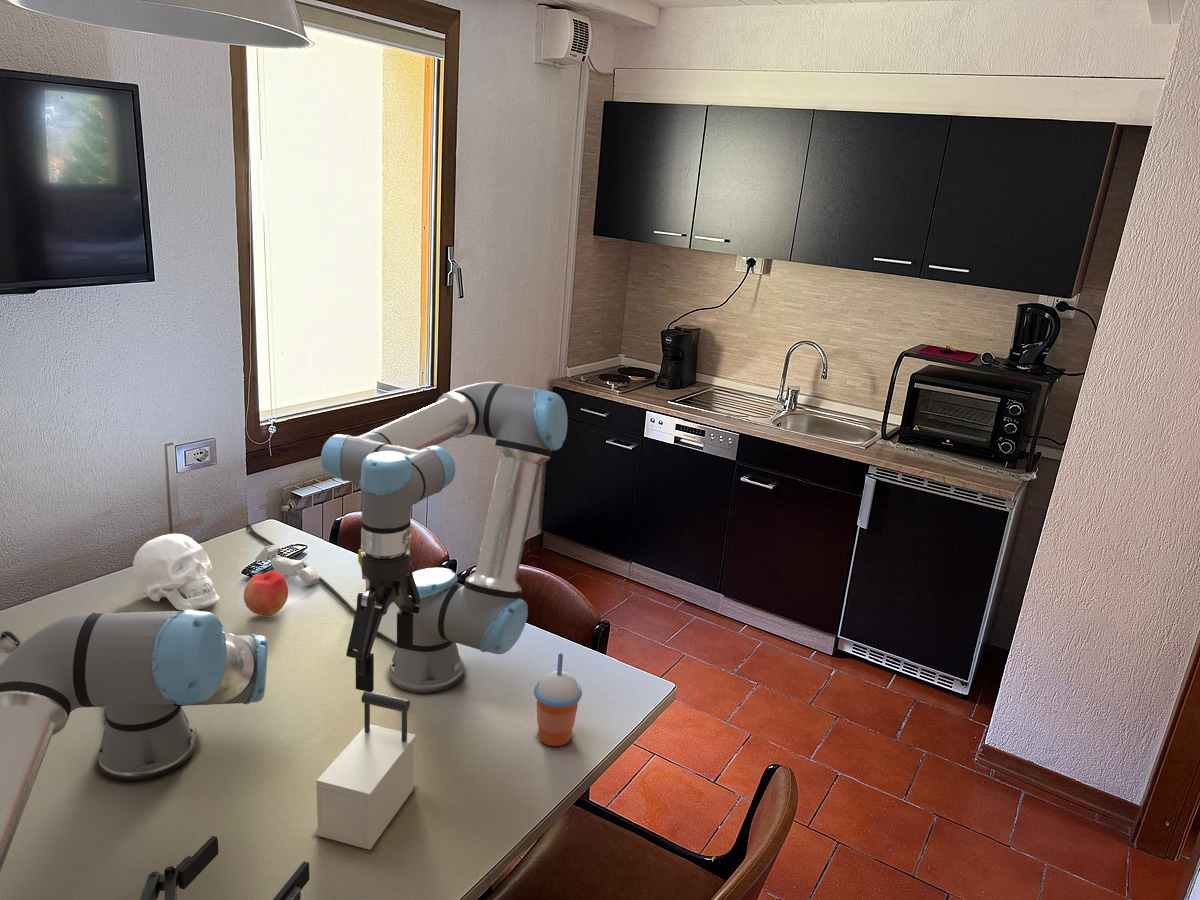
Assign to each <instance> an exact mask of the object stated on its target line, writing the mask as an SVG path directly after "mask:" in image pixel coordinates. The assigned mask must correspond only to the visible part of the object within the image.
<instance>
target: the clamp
mask: <svg viewBox="0 0 1200 900" xmlns="http://www.w3.org/2000/svg"><path fill="white" fill-rule="evenodd" d="M280 548H281V547H280V546H278V545H277V544H275V545H266V546H264V547H263V549H262V550H261V551H260V552H259V554H258V555H257V556H256V557H255V559H254V562H255V563H256V561H259V560H262V561H268V560H271V562H270V563H269V564H271V565H272V566H273V568H274V571H275V572H278V573H281V574H282V575H283V576H288V577H292V578H296V577H298V578H299V579H300V580H301V582H303V584H304V585H305V587H309V586H312V585H314V584H316V583H318V582H319V579H320V577H321V575H320V574H319V573H318V572H317V570H315V569H314V568H313V566H312V565H310V564H309V565H308V564H307V563H305V562H304V561H303V560H301V559H300V560H299V559H297V560H292V559H290V558H289V557H287V556H286V557H285V556H278V553H279V552H280V551H279V549H280ZM273 558H274V559H273ZM272 559H273V560H272ZM304 565H306V566H307V567H306V568H304ZM270 571H271V570H270ZM321 578H322V577H321Z"/></svg>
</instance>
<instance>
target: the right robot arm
mask: <svg viewBox="0 0 1200 900" xmlns="http://www.w3.org/2000/svg"><path fill="white" fill-rule="evenodd" d="M567 432H568V411H567V407H566V403H565V401H564V399H563V398H562V396H560V395H559V394H558V393H556V392H553V391H549V390H546V389H543V388H537V387H536V388H535V387H529V386H523V385H516V384H510V383H504V382H499V381H483V382H476V383H472V384H468V385H464V386H460V387H458V388H455V389H452V390H450V391H448V392H445V393H443V394H442V395H440V396H439V397H438V398H437V400H436V402H435V403H432V404H430V405H428V406H426V407H423V408H421V409H419V410H416V411H414V412H412V413H409V414H407V415H405V416H402V417H399V418H398V419H395V420H394V421H390V422H389V423H386V424H383V425H382V426H380V427H377V428H374V429H372V430H370V431H368V432H366V433H363V434H360V435H358V436H352V435H351V434H338V433H337V434H333V435H332V436H330V437H329V438H328V439H327V440H326V441H325V443H324V444H323V446H322V450H321V453H320V458H321V460H320V461H321V462H320V463H321V468H322V469H323V471H324V472H325V474H326V475H327V476H330V477H332V478H335V479H339V480H341V481H343V482H351V483H355V484H359V486H360V502H361V503H360V505H361V520H360V521H361V525H360V526H361V528H360V530H361V531H360V549H362V550H363V551H362V553H361V565H360V569H361V574H362V573H363V575H364V576H365V577H366V578H367V579H368V580H369V582H370V583H369V588H368V592H367V593H366V592H362V591H360V592H358V594H357V595H356V596H357V598H356V609H355V608H354V607H353V606H351V604H350V603H348V601H347V600H346V599H344V598H343V597H342V596H341V594H340V593H339V592H337V591H336V590H335V589H334V588H333V587H332V586H331V584H329V583H328V582H327V581H325V580H324V579H323V578H322V577H320V579H319V580H318V582H320V583H321V584H322V585H323V586H324V587H325V588H326V589H328V590H329V591H330V592H331V593H332V594H333V595H334V596H335V597H336V599H338V600H339V601H340V602H341V603H342V604H343V605H344V606H345V607H346V608H347V609H348V610H349V612H351V613H352V614H353V615H354V618H353V623H352V626H351V631H350V636H349V640H348V643H347V649H346V654H345V655H346V657H347V658H352V659H355V690H359V691H362V692H364V691H367V692H374V690H375V688H374V685H375V684H374V683H375V680H374V678H375V677H374V675H375V674H374V673H375V672H374V670H375V668H374V667H375V666H374V665H375V664H374V661H375V659H374V658H375V657H374V655H375V654H374V653H372V649H373V647H374V643H375V640H376V638H377V637H379V638H381V639H382V640H384V641H386V642H387V643H389V644H390V645H392V646H394V647H396V648H395V651H394V653H393V656H392V659H391V660H390V664H389V679H390V681H391V682H392V683H393V684H394V685H395V686H396V687H398V688H399V689H401V690H404V691H407V692H410V693H416V694H430V693H431V694H432V693H438V692H441V691H445V690H447V689H450V688H451V687H453V686H455V685H456V684H457V683H458V682H459V681H460V680H461V679H462V676H463V672H464V662H463V660H462V657H461V656H460V653H459V649H458V646H457V644H459V645H462V646H466V647H469V648H472V649H476V650H479V651H480V652H482V653H491V654H495V655H503V654H505V653H507V652H509V651H510V650H511V649H512V648H513V647H514V646H515V645H516V643H517V642H518V640H519V639H520V637H521V635H522V633H523V631H524V629H525V626H526V623H527V620H528V615H529V610H528V609H529V607H528V603H527V602H526V600H524V599H523V598H521V597H522V593H523V588H522V587H521V585H520V584H519V582H518V575H519V570H520V566H521V561H522V557H523V552H524V547H525V542H526V538H527V533H528V528H529V523H530V520H531V514H532V510H533V505H534V501H535V496H536V491H537V487H538V483H539V478H540V473H541V468H542V465H543V464H544V463H546V462H548V461H549V460H550V459H551V457H552V452H553V451H558V450H560V449H561V448H562V447H563V445H564V442H565V441H566V438H567ZM471 435H472V436H481V437H487V438H492V439H496V440H495V443H494V448H495V450H496V451H497V452H496V453H498V456H499V461H498V465H497V470H496V473H495V474H496V475H495V478H494V484H493V488H492V492H491V496H490V497H491V498H490V502H489V506H488V511H487V516H486V520H485V524H484V529H483V530H484V531H483V534H482V537H481V538H482V539H481V542H480V548H479V551H478V557H477V560H476V561H477V562H476V566H475V570H474V572H473V573H471V574H469V576H467V577H466V578H465V581H464V584H462V583H458V580H459V579H458V575H457V573H456V572H455V571H454V570H452V569H450V568H446V567H428V568H421V569H418V570H416V571H413V563H412V562H411V550H410V548H411V541H412V539H413V535H412V534H411V515H412V506H414V505H416V504H418V503H419V502H421V501H422V500H425V499H427V498H429V497H432V496H433V495H435V494H439V493H440V492H442V490H443V489H444V488H446V487H448V486H449V485H451V483H452V482H453V480H454V478H455V476H456V464H455V461H454V458H453V456H452V455H451V454H450V452H449V451H447V449H445V448H443V447H442V446H438V445H440V444H443V443H444V442H447V441H448V440H450V439H452V438H453V439H454V438H455V439H463V438H465V437H468V436H471ZM245 527H246V528H248V529H249V531H250V533H251V534H252V535H253V536H255V538H258V539H259V540H261V541H263V542H264V543H266V544H267V545H268V546H271V545H276V544H275V543H273V542H272V541H271V540H268V539H267V538H266V537H264V536H262V535H261V534H259V533H257V532H256V531H255V530H254V528H253V526H252V524H251V523H247V524H246V526H245ZM251 527H252V528H251ZM294 558H295V557H294ZM294 558H292V560H295V559H294ZM306 567H308V566H307V565H305V564H304V568H306ZM392 603H394V604H395V605H396V607H397V608H398V612H396V641H395V640H393V639H392V638H390V637H388V636H387V635H385V634H383V632H380V631H379V629H380V625H381V621H382V619H383V616H385V615H387V613H388V610H389V607H390V605H391V604H392Z"/></svg>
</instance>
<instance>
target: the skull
mask: <svg viewBox="0 0 1200 900" xmlns="http://www.w3.org/2000/svg"><path fill="white" fill-rule="evenodd" d="M132 571H133V572H132V573H133V577H134V579H135V581H136V582H137V583H138V585H139V586H140V587H141V589H142V590H143V591H144V592H145V594H146V595H147V596H148V598H149V599H150V600H151V601H153V602H160V600H161V598H167V600H168V601H169V602H170V603H171V605H172V606H173V607H174V606H175V607H174V609H176V610H177V611H183V610H200V609H203V608H208V607H210V606H212V605H215V604H217V603H218V602H219V601H220V595H218V593H217V592H216V589H215V588H214V583H213V581H212V580H211V578H210V577H209V576H208V574H209V573H210V572H212V571H213V565H212V562H211V560H210V558H209V555H208V554H207V552H206V551H205V548H204V547H202V546H201V545H200V544H199V543H198V542H197V541H195V540H194V539H193V538H192V537H190V536H188V535H186V534H182V533H168V534H163V535H160V536H157V537H154V538H152V539H150V540H148V541H146V542H145V543H144V544H143V545H142V546H141V547H140V548H139V549H138V550H137V552H136V553H135V554H134V558H133V561H132ZM203 591H204V592H203ZM180 593H181V594H183V595H184V596H185V597H186V598H187V599H186V598H184V597H183V596H182V595H181V594H180ZM179 607H183V608H179ZM185 607H186V608H185ZM191 607H192V608H191Z"/></svg>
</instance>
